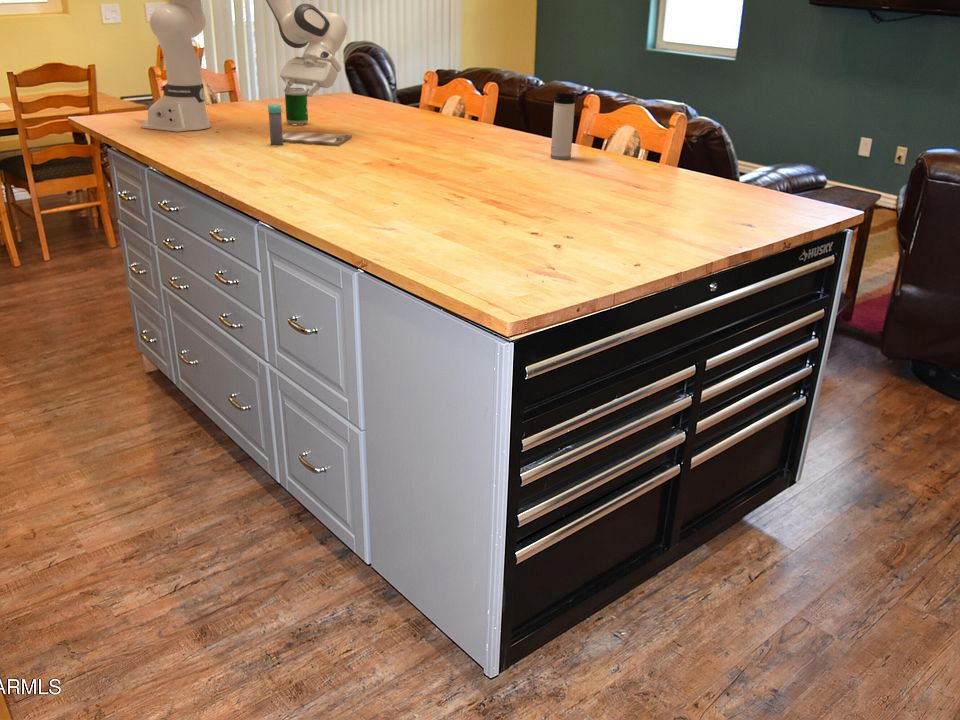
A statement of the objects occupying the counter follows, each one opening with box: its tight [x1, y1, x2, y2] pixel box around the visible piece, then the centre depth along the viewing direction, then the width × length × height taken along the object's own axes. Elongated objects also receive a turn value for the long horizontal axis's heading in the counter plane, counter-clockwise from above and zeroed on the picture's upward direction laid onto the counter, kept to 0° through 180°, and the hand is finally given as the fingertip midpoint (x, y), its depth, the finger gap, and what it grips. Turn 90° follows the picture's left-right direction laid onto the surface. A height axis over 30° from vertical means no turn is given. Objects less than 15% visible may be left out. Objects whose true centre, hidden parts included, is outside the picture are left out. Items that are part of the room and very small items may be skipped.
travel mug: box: [550, 91, 576, 161], centre depth 275 cm, size 6×7×20 cm
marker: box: [267, 104, 284, 146], centre depth 281 cm, size 4×4×12 cm
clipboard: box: [282, 130, 352, 147], centre depth 292 cm, size 22×15×2 cm
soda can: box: [284, 87, 309, 126], centre depth 315 cm, size 8×8×12 cm
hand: (297, 93), depth 285 cm, fingers open, 8 cm apart
